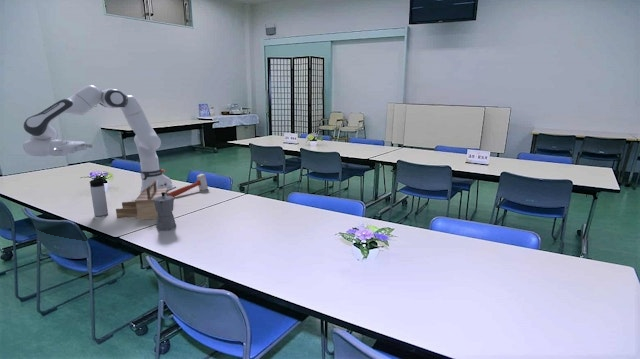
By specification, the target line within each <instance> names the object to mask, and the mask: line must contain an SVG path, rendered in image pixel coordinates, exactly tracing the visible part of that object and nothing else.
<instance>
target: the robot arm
mask: <svg viewBox="0 0 640 359" xmlns="http://www.w3.org/2000/svg"><path fill="white" fill-rule="evenodd" d="M98 104H99V105H100V106H102V107H104V108H110V109H115V108H119V109H120V110H121V111H122V113H123V115H124V118H125V119H126V121H127V123H128V125H129V127H130V129H131V130H132V131H133V133H134V134H135V135H134V137H133V141H134V143H135V145H136V150H137V153H138V156H139V162H140V164H139V165H140V178H141V187H140V192H142V191H143V190H144V189H147V188H148V186H149V185H150V184H151V182H152V181H153V180H156V188H157V189H159V188H168V191H169V190H172V189H173V190H174V189H175V188H177V186H176V185H175V184H173V183H172V182H173V181H172V180H171V178H170V177H168V176H167V175H165V174H163V173H165V172H166V170H165V169H164V168H163V169H160V163H159V162H160V161H159V157H158V155H157V151H156V150H158V149H160V147H161V146H162V141H161V138H160V137H159V136H158V134H157V132H156V131H155V130H154V128H153V127H152V124H150V122H149V121H148V119H147V116H146V114H145V111H144V110H143V107H142V105H140V103H139V101H138V99H137V98H136V97H135V96H134V95H132V94H130V95H129V94H127V95H126V94H125V93H124V92H123V91H121V90H119V89H116V88H106V89H99V88H98V86H95V85H93V84H87V85H86V86H83V87H82V88H81V89H79V90H77V91H76V92H75V93H73V95H71V96H69V97H68V98H63V99H60V100H58V101H56V102H55V103H53V104H51V105H50V106H48V107H47V108H45V109H44V110H42V111H40V112H39V113H37V114H33V115H32V116H29V117H27V118H26V119H25V121H24V122H23V130H24V131H25V132H26V133H28V134H29V135H31V137H29V138H28V139H27V140H26V141H24V142H23V144H22V145H23V150H24V152H25V153H26V155H29V156H31V157H49V156H50V157H51V156H52V157H65V156H67V155H68V154H74V153H77V152H81V151H86V150H88V148H93V147H94V145H93V144H92V143H86V142H85V141H82V140H81V141H80V140H78V141H77V140H70V139H58V132H57V130H56V129H55V128H54V127H53V126H52V125H51V124H50V123H51V122H52V121H54V120H55V119H57V118H59V117H60V116H62V115H63V114H64V115H65V114H68V113H69V114H72V115H75V116H83V115H86V114H87V113H89V112H90V111H91V110H92V109H93V108H94V107H95V106H97V105H98ZM151 189H154V186H152V188H151Z"/></svg>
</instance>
